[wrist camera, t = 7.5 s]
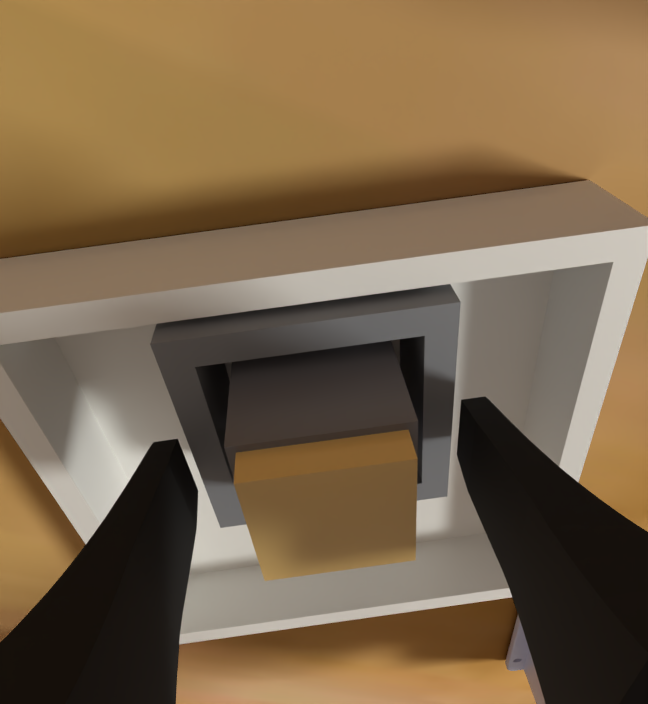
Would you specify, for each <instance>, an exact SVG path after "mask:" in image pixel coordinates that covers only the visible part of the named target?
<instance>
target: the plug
mask: <svg viewBox="0 0 648 704" xmlns="http://www.w3.org/2000/svg"><path fill="white" fill-rule="evenodd" d="M224 449H225V452H226V455H227V459H228V462H229V465H230V468H231V471H232V474H233V478H234V486H235V490H236V493H237V496H238V499H239V502H240V505H241V508H242V512H243V515H244V518H245V521H246V524H247V527H248V530H249V533H250V537H251V540H252V543H253V546H254V549H255V552H256V555H257V558H258V562H259V565H260V568H261V571H262V574H263V577H264V580H265V581H269V580H276V579H284V578H291V577H298V576H305V575H313V574H320V573H327V572H334V571H342V570H349V569H356V568H363V567H371V566H378V565H385V564H392V563H400V562H407V561H414V560H416V517H417V465H418V419H417V416H416V413H415V410H414V407H413V404H412V401H411V398H410V395H409V392H408V389H407V386H406V383H405V380H404V377H403V374H402V371H401V368H400V366H399V363H398V360H397V357H396V354H395V351H394V348H393V345H392V342H391V340H390V341H383V342H376V343H368V344H361V345H354V346H346V347H339V348H332V349H324V350H317V351H310V352H302V353H295V354H288V355H280V356H273V357H266V358H258V359H251V360H244V361H236V362H232V365H231V376H230V387H229V398H228V409H227V419H226V430H225V441H224Z"/></svg>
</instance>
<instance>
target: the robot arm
mask: <svg viewBox="0 0 648 704" xmlns="http://www.w3.org/2000/svg"><path fill="white" fill-rule="evenodd" d="M457 457H458V460H459V464H460V467H461V471H462V474H463V477H464V481H465V484H466V487H467V490H468V493H469V495H470V498H471V500H472V502H473V505H474V507H475V509H476V512H477V514H478V516H479V518H480V521H481V523H482V525H483V528H484V530H485V532H486V534H487V537H488V539H489V541H490V543H491V546H492V548H493V550H494V553H495V555H496V557H497V559H498V562H499V564H500V566H501V569H502V571H503V573H504V576H505V578H506V581H507V584H508V586H509V589H510V592H511V595H512V598H513V601H514V604H515V607H516V610H517V613H518V616H517V620H516V623H515V627H514V631H513V635H512V639H511V643H510V646H509V650H508V654H507V658H506V662H505V663H506V666H507V669H508V670H510V671H515V670H522V669H524V671H525V674H526V677H527V679H528V682H529V685H530V687H531V690H532V693H533V696H534V698H535V701H536V704H648V532H647V531H645V530H644V529H642V528H641V527H639V526H637V525H636V524H634V523H633V522H631V521H630V520H628V519H627V518H626V517H624V516H623V515H621V514H620V513H618V512H617V511H615V510H614V509H613V508H611V507H610V506H608V505H607V504H606V503H604V502H603V501H602V500H600V499H599V498H598V497H596V496H595V495H594V494H592V493H591V492H590V491H588V490H587V489H586V488H585V487H583V486H582V485H581V484H579V483H578V482H577V481H576V480H575V479H573V478H572V477H571V476H570V475H569V474H567V473H566V472H565V471H564V470H563V469H561V468H560V467H559V466H558V465H557V464H556V463H554V462H553V461H552V460H551V459H550V458H549V457H548V456H547V455H545V454H544V453H543V452H542V451H541V450H540V449H539V448H538V447H537V446H536V445H534V444H533V443H532V442H531V441H530V440H529V439H528V438H527V437H526V436H525V435H524V434H523V433H522V432H521V431H520V430H519V429H518V428H517V427H516V426H515V425H514V424H513V423H512V422H511V421H510V420H509V419H508V418H507V417H506V416H505V415H504V414H503V413H502V412H501V411H500V410H499V409H498V408H497V407H496V406H495V405H494V404H493V403H492V402H491V401H490V400H489V399H488V398H486V397H477V398H470V399H463V400H461V408H460V420H459V433H458V445H457ZM197 512H198V489H197V486H196V484H195V481H194V479H193V476H192V474H191V471H190V469H189V466H188V463H187V461H186V458H185V456H184V453H183V451H182V448H181V446H180V443H179V441H178V439H172V440H165V441H158V442H153V443H152V445H151V446H150V448H149V449H148V451H147V452H146V454H145V456H144V457H143V459H142V461H141V462H140V464H139V466H138V467H137V469H136V471H135V472H134V474H133V475H132V477H131V479H130V480H129V482H128V483H127V485H126V487H125V488H124V490H123V491H122V493H121V494H120V496H119V497H118V499H117V501H116V502H115V504H114V505H113V507H112V508H111V510H110V511H109V513H108V514H107V516H106V517H105V519H104V520H103V521H102V523H101V524H100V526H99V527H98V528H97V530H96V531H95V533H94V534H93V535H92V537H91V538H90V539H89V541H88V542H87V544H86V545H85V546H84V548H83V549H82V550H81V552H80V553H79V554H78V556H77V557H76V558H75V560H74V561H73V562H72V563H71V565H70V566H69V567H68V568H67V570H66V571H65V572H64V573H63V575H62V576H61V577H60V578H59V579H58V581H57V582H56V583H55V584H54V585H53V586H52V588H51V589H50V590H49V591H48V592H47V593H46V595H45V596H44V597H43V598H42V599H41V600H40V601H39V602H38V603H37V605H36V606H35V607H34V608H33V609H32V610H31V611H30V612H29V613H28V614H27V616H26V617H25V618H24V619H23V620H22V621H21V622H20V623H19V624H18V625H17V626H16V627H15V628H14V629H13V630H12V631H11V632H10V633H9V635H8V636H7V637H6V638H5V639H3V640H2V641H1V642H0V704H176V685H177V668H178V654H179V640H180V630H181V622H182V615H183V609H184V603H185V597H186V591H187V585H188V579H189V573H190V567H191V561H192V555H193V549H194V542H195V536H196V530H197Z"/></svg>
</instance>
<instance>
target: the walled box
mask: <svg viewBox="0 0 648 704" xmlns="http://www.w3.org/2000/svg"><path fill="white" fill-rule="evenodd" d="M647 258H648V218H647V217H646V216H644V215H643V214H641V213H640V212H638V211H636V210H635V209H633V208H632V207H630V206H629V205H627V204H626V203H624V202H623V201H621V200H619V199H618V198H616V197H615V196H613V195H612V194H610V193H609V192H607V191H606V190H604V189H603V188H601V187H599V186H598V185H596V184H595V183H593V182H592V181H590V180H586V181H579V182H571V183H564V184H556V185H549V186H541V187H534V188H526V189H519V190H512V191H504V192H497V193H489V194H482V195H474V196H467V197H459V198H452V199H444V200H437V201H429V202H422V203H414V204H407V205H400V206H392V207H385V208H377V209H370V210H362V211H355V212H347V213H340V214H332V215H325V216H317V217H310V218H302V219H295V220H288V221H280V222H273V223H265V224H258V225H250V226H243V227H235V228H228V229H220V230H213V231H205V232H198V233H190V234H183V235H176V236H168V237H161V238H153V239H146V240H138V241H131V242H123V243H116V244H108V245H101V246H93V247H86V248H78V249H71V250H64V251H56V252H49V253H41V254H34V255H26V256H19V257H11V258H4V259H0V419H1V420H2V422H3V423H4V425H5V426H6V428H7V429H8V430H9V432H10V433H11V435H12V436H13V438H14V439H15V441H16V442H17V444H18V445H19V447H20V448H21V450H22V451H23V453H24V454H25V456H26V457H27V459H28V460H29V461H30V463H31V464H32V466H33V467H34V469H35V470H36V472H37V473H38V475H39V476H40V478H41V479H42V481H43V482H44V484H45V485H46V487H47V488H48V489H49V491H50V492H51V494H52V495H53V497H54V498H55V500H56V501H57V503H58V504H59V506H60V507H61V509H62V510H63V512H64V513H65V515H66V516H67V518H68V519H69V520H70V522H71V523H72V525H73V526H74V528H75V529H76V531H77V532H78V534H79V535H80V537H81V538H82V540H83V541H84V543H85V544H87V542H88V541H89V539H90V538H91V537H92V535H93V534H94V533H95V531H96V530H97V528H98V527H99V526H100V524H101V523H102V521H103V520H104V519H105V517H106V516H107V514H108V513H109V511H110V510H111V508H112V507H113V505H114V504H115V502H116V501H117V499H118V497H119V496H120V494H121V493H122V491H123V490H124V488H125V487H126V485H127V483H128V482H129V480H130V479H131V477H132V475H133V474H134V472H135V471H136V469H137V467H138V466H139V464H140V462H141V461H142V459H143V457H144V456H145V454H146V452H147V451H148V449H149V448H150V446H151V445H152V443H153V442H158V441H165V440H172V439H178V441H179V443H180V446H181V448H182V451H183V453H184V456H185V458H186V461H187V463H188V466H189V469H190V471H191V474H192V476H193V479H194V481H195V484H196V486H197V489H198V512H197V530H196V536H195V542H194V549H193V555H192V561H191V567H190V573H189V579H188V585H187V591H186V597H185V603H184V609H183V615H182V622H181V630H180V640H179V644H185V643H192V642H200V641H207V640H214V639H221V638H228V637H235V636H242V635H249V634H256V633H263V632H270V631H277V630H284V629H292V628H299V627H306V626H313V625H320V624H327V623H334V622H341V621H348V620H355V619H362V618H369V617H376V616H383V615H391V614H398V613H405V612H412V611H419V610H426V609H433V608H440V607H447V606H454V605H461V604H468V603H475V602H483V601H490V600H497V599H504V598H511V597H512V595H511V592H510V589H509V586H508V584H507V581H506V578H505V576H504V573H503V571H502V569H501V566H500V564H499V562H498V559H497V557H496V555H495V553H494V550H493V548H492V546H491V543H490V541H489V539H488V537H487V534H486V532H485V530H484V528H483V525H482V523H481V521H480V518H479V516H478V514H477V512H476V509H475V507H474V505H473V502H472V500H471V498H470V495H469V493H468V490H467V487H466V484H465V481H464V477H463V474H462V471H461V467H460V464H459V460H458V457H457V445H458V433H459V420H460V408H461V400H463V399H470V398H477V397H486V398H488V399H489V400H490V401H491V402H492V403H493V404H494V405H495V406H496V407H497V408H498V409H499V410H500V411H501V412H502V413H503V414H504V415H505V416H506V417H507V418H508V419H509V420H510V421H511V422H512V423H513V424H514V425H515V426H516V427H517V428H518V429H519V430H520V431H521V432H522V433H523V434H524V435H525V436H526V437H527V438H528V439H529V440H530V441H531V442H532V443H533V444H534V445H536V446H537V447H538V448H539V449H540V450H541V451H542V452H543V453H544V454H545V455H547V456H548V457H549V458H550V459H551V460H552V461H553V462H554V463H556V464H557V465H558V466H559V467H560V468H561V469H563V470H564V471H565V472H566V473H567V474H569V475H570V476H571V477H572V478H573V479H575V480H576V481H577V482H579V478H580V475H581V472H582V469H583V465H584V462H585V459H586V456H587V452H588V449H589V446H590V443H591V440H592V436H593V433H594V430H595V427H596V423H597V420H598V417H599V414H600V410H601V407H602V404H603V401H604V397H605V394H606V391H607V388H608V384H609V381H610V378H611V375H612V372H613V368H614V365H615V362H616V359H617V355H618V352H619V349H620V346H621V342H622V339H623V336H624V333H625V329H626V326H627V323H628V320H629V316H630V313H631V310H632V307H633V303H634V300H635V297H636V294H637V291H638V287H639V284H640V281H641V278H642V274H643V271H644V268H645V265H646V261H647ZM390 340H391V342H392V345H393V348H394V351H395V354H396V357H397V360H398V363H399V366H400V368H401V371H402V374H403V377H404V380H405V383H406V386H407V389H408V392H409V395H410V398H411V401H412V404H413V407H414V410H415V413H416V416H417V419H418V465H417V517H416V560H414V561H407V562H400V563H392V564H385V565H378V566H371V567H363V568H356V569H349V570H342V571H334V572H327V573H320V574H313V575H305V576H298V577H291V578H284V579H276V580H269V581H265V580H264V577H263V574H262V571H261V568H260V565H259V562H258V558H257V555H256V552H255V549H254V546H253V543H252V540H251V537H250V533H249V530H248V527H247V524H246V521H245V518H244V515H243V512H242V508H241V505H240V502H239V499H238V496H237V493H236V490H235V486H234V478H233V474H232V471H231V468H230V465H229V462H228V459H227V455H226V452H225V449H224V441H225V430H226V419H227V409H228V398H229V387H230V376H231V365H232V362H236V361H244V360H251V359H258V358H266V357H273V356H280V355H288V354H295V353H302V352H310V351H317V350H324V349H332V348H339V347H346V346H354V345H361V344H368V343H376V342H383V341H390Z"/></svg>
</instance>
